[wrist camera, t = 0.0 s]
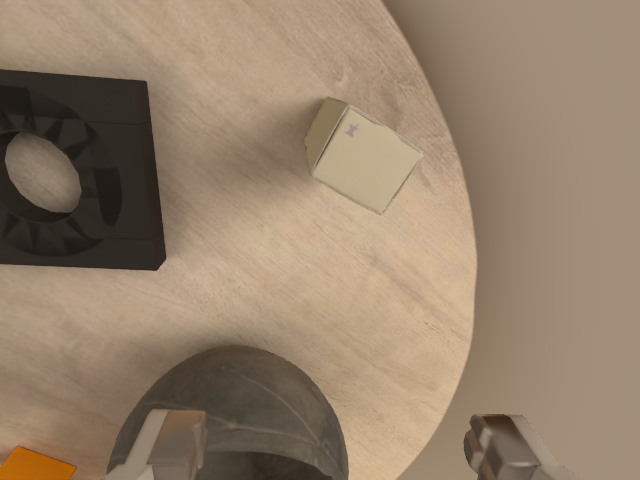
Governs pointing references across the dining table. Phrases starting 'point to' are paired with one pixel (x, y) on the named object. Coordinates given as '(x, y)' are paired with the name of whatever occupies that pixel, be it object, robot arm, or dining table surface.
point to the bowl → (248, 417)
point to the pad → (84, 173)
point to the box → (359, 155)
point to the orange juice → (34, 467)
